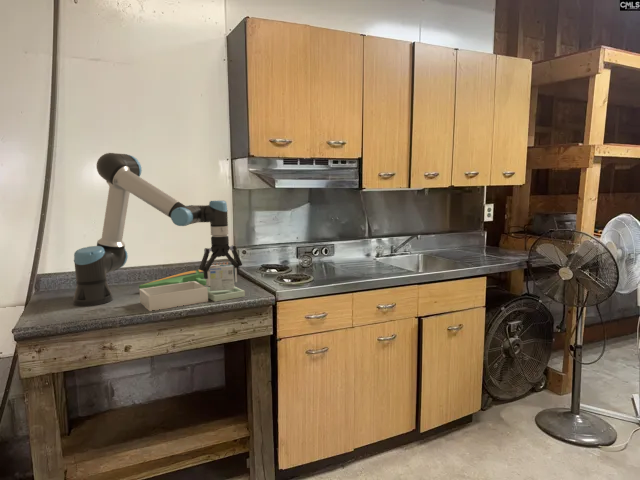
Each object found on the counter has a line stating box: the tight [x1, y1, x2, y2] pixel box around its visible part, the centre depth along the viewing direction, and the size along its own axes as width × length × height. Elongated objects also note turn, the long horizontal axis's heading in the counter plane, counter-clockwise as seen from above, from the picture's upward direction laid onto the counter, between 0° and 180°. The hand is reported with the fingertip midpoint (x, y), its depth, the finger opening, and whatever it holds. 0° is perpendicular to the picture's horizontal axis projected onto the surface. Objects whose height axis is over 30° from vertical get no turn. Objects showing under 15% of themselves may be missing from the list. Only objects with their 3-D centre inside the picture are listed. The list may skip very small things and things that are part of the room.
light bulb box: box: [208, 263, 235, 291], centre depth 200 cm, size 11×7×11 cm, turn 104°
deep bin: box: [138, 281, 209, 312], centre depth 190 cm, size 24×16×6 cm, turn 124°
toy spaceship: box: [138, 269, 207, 289], centre depth 216 cm, size 32×10×7 cm, turn 127°
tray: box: [206, 285, 246, 302], centre depth 201 cm, size 14×17×2 cm
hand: (221, 283), depth 200 cm, fingers closed on light bulb box, 12 cm apart
